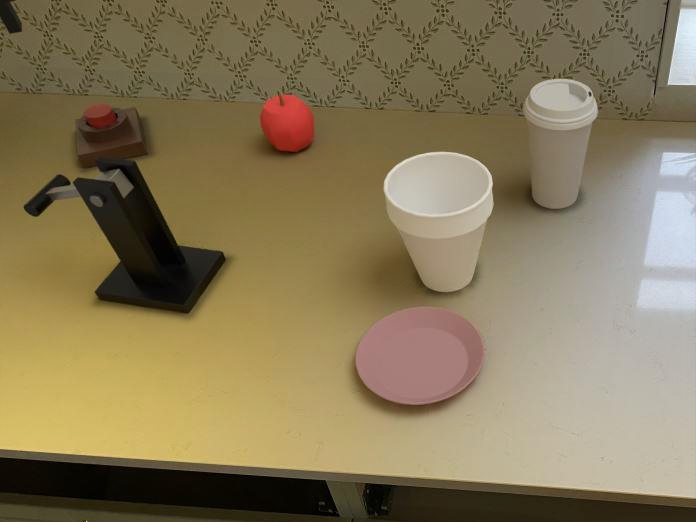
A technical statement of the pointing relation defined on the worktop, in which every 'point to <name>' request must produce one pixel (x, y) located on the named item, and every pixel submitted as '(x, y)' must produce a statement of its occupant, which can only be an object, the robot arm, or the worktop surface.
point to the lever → (71, 190)
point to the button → (100, 115)
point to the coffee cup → (558, 139)
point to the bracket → (144, 245)
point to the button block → (111, 138)
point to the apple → (287, 123)
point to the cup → (440, 214)
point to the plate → (420, 355)
